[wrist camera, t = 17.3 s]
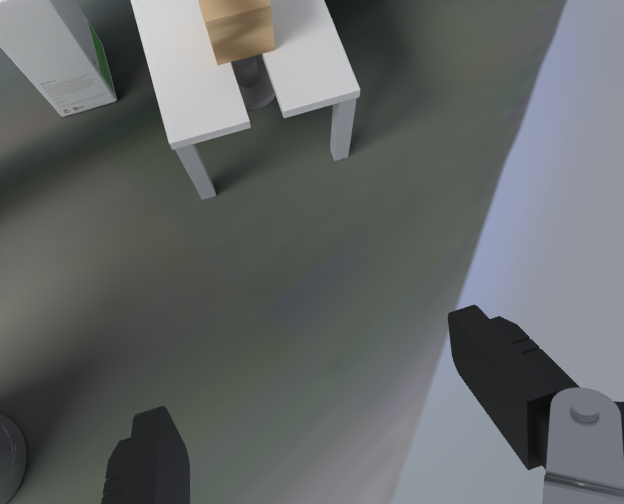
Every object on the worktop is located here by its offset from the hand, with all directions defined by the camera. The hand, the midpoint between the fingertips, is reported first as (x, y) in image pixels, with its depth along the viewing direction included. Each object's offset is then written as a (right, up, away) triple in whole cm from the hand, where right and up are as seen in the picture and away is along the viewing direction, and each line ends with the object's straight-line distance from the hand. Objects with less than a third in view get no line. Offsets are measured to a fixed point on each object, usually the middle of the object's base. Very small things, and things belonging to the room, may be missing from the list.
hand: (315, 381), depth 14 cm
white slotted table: (-7, +20, +41) cm, 46 cm away
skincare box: (-25, +22, +42) cm, 54 cm away
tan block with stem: (-6, +20, +36) cm, 42 cm away
